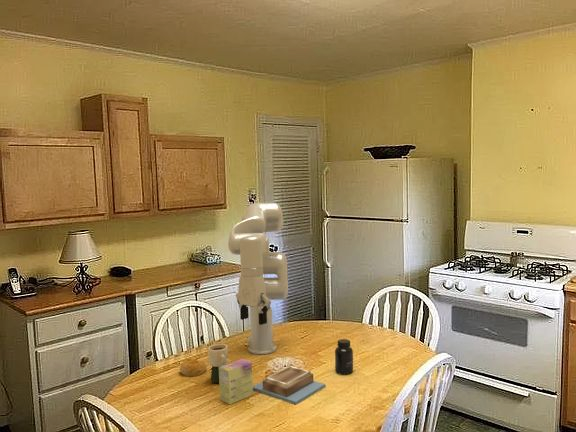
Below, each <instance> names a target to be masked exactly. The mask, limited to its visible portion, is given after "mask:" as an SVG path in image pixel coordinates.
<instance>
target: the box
mask: <svg viewBox="0 0 576 432" xmlns="http://www.w3.org/2000/svg"><path fill="white" fill-rule="evenodd" d="M253 379H254V378H253V362H252V361H250V360H247V359H244V358H240V359H237V360H235V361H231V362H228V363H227V364H225V365H222V366H219V382H218V383H219V400H220V401H222V402H224V403H226V404H228V405H233V404H234V403H236V402H238V401H239V402H240V401H242V400H245V399H246V398H249V397H250V396H254V390H253V386H254V383H253V382H254V381H253Z"/></svg>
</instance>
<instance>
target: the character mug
mask: <svg viewBox="0 0 576 432" xmlns="http://www.w3.org/2000/svg"><path fill="white" fill-rule="evenodd" d="M207 351H208V353H207V355H208V365H209V366H211V369H210V370H211V373H210V382H212V383H219V366H222V365H225V364H228V363H229V358H228V356H229V355H228V353H229V351H228V345H227V344H225V343H224V344H223V343H217V344H211V345H210V346H208V348H207Z"/></svg>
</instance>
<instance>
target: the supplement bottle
mask: <svg viewBox="0 0 576 432" xmlns="http://www.w3.org/2000/svg"><path fill="white" fill-rule="evenodd" d="M336 345H337V347H336V348H335V349H334V367H335V369H334V371H335V373H337V374H339V375H350V374H352V373H353V372H354V348H352V347H351V340H349V339H345V338H341V339H338V340H337V344H336Z"/></svg>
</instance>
